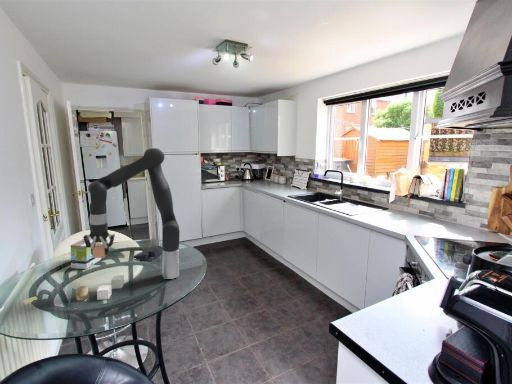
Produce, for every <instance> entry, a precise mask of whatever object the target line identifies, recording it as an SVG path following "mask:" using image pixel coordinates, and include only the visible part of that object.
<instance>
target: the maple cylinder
mask: <svg viewBox="0 0 512 384" xmlns="http://www.w3.org/2000/svg"><path fill="white" fill-rule="evenodd" d="M88 298H89V287H88V286H87V285H82V286H78V287H76V288H75V299H76V301H79V302H82V301H86V300H87V299H88Z"/></svg>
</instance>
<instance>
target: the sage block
mask: <svg viewBox="0 0 512 384" xmlns="http://www.w3.org/2000/svg"><path fill="white" fill-rule="evenodd" d="M110 283H111V284H110V285H111V288H112V290H113V289H122V288H123V286H124V284H125V275H124V274H123V275H122V274H121V275H116V274H115V275H113V277H112V278H111V280H110Z"/></svg>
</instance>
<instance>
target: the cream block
mask: <svg viewBox="0 0 512 384" xmlns="http://www.w3.org/2000/svg"><path fill="white" fill-rule="evenodd" d="M112 291H113V289H112V288H111V284H102V285H101V284H100V286H98V288H97V290H96V300H97V301H99V300H109V299H110V298H111V295H112Z"/></svg>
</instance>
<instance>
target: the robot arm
mask: <svg viewBox="0 0 512 384" xmlns="http://www.w3.org/2000/svg"><path fill="white" fill-rule="evenodd" d="M164 161H165V154H164V152H163V151H162V150H161V149H159V148H157V147H156V148H147V149H146V150H145V151H144V153H143V156H141V157H140V158H139V159H137V160H135V161H133V162H131V163H129V164H126V165H123V166H122V167H120V168H119V167H118V169H115V170H114V171H112V172H110V173H108V174H107V175H105V176H103V177H100V178H98V179H96V180H94V181H92V182H91V183H90V184H89V185H88V187H87V191H88V193H89V196H90V203H89V232H90V233H89V234H85V235H84V236H82V239H84V241H85V244H86V247H90V248H91V254H92V255H93V249H92V248H93V247H94V246H95V244H96V242H101V244H103V245H104V247H105V255H106V256H107V255H108V254H109V252H110V251H109V250H110V248H111V247H112V246H113V244H114V240H115V237H116V236H115V234H114V233H113V234H110V233H109V231H108V229H109V228H108V227H109V226H108V225H109V224H108V213H107V198H108V190H110V189H112V188H116V187H118V186H121V185H122V184H124V183H126V182H128V181H129V180H131V179H132V178H133V177H136V176H137V175H140V174H141V173H143V172H144V171H146V170H147V172H148V175H149V179H150V180H149V181H150V185H151V190H152V194H153V198H154V202H155V205H156V207H157V209H158V212H159V214H160V218H161V225H162V232H161V235H162V236H161V238H162V239H161V241H162V242H161V247H162V253H161V254H162V256H161V257H162V262H161V264H162V265H161V267H162V269H161V271H162V272H161V278H162V277H163V278H166V279H173V278H176V277H178V276H180V235H181V234H180V233H181V232H180V226H179V224H178V220H177V218H176V216H175V212H174V202H173V197H172V192H171V188H170V186H169V183H168V181H167V178H166V177H165V174H164V173H163V169H162V164H163V162H164ZM89 238H91V239H92V240H93V241H92V244H91V243H90V240H89ZM107 238H108V239H109V242H108V239H107ZM163 278H162V279H163ZM178 278H179V277H178ZM176 279H177V278H176ZM173 280H174V279H173Z"/></svg>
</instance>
